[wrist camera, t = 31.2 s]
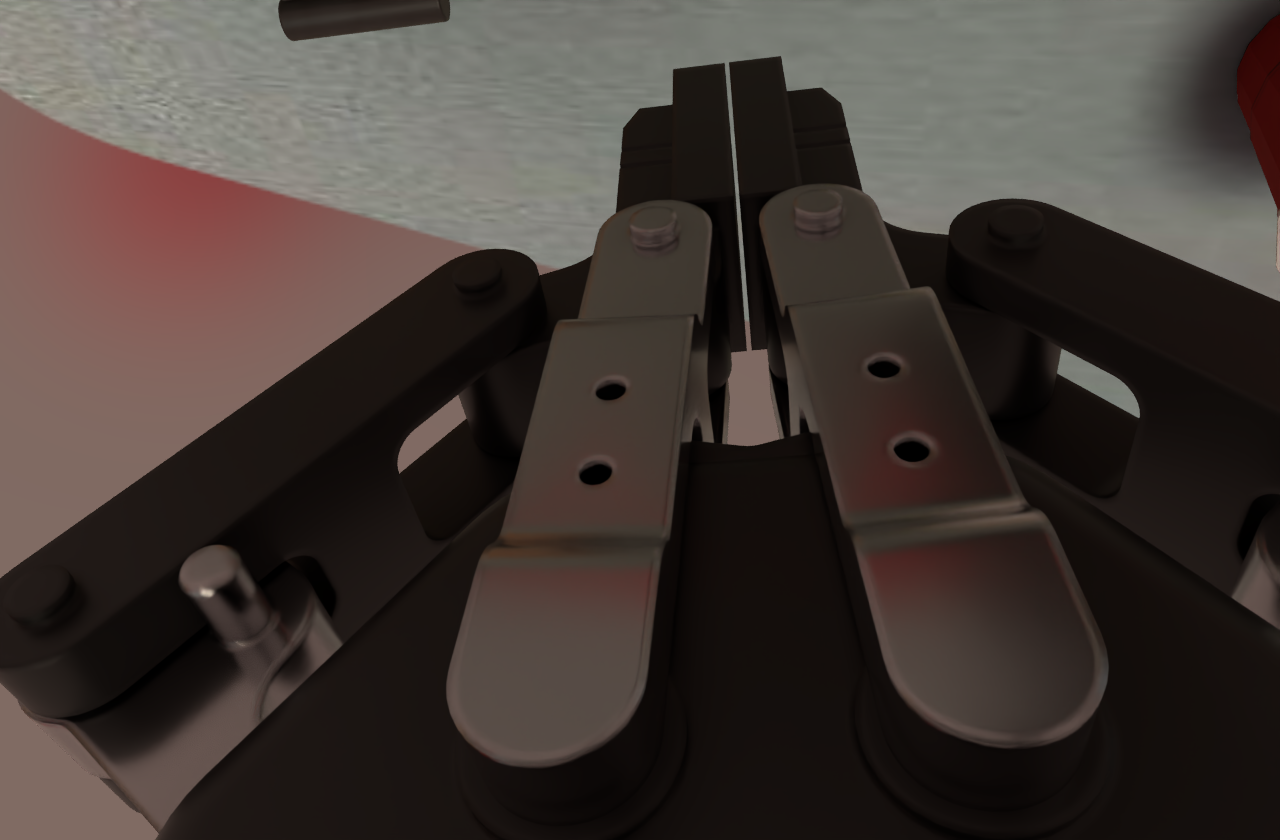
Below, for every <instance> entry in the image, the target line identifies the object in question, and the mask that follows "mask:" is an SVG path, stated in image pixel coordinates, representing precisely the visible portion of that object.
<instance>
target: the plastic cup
mask: <svg viewBox="0 0 1280 840" xmlns="http://www.w3.org/2000/svg"><path fill="white" fill-rule="evenodd" d="M1237 95H1238V104H1239V106H1240V109H1241V111H1242V113H1243V116H1244V118H1245V120H1246V122H1247V125H1248V127H1249V129H1250V139H1251V141H1252V144H1253V147H1254V149H1255V152H1256V154H1257V157H1258V160H1259V162H1260V165H1261V167H1262V170H1263V173H1264V175H1265V178H1266V180H1267V183H1268V186H1269V188H1270V191H1271V193H1272V196H1273V198H1274V201H1275V204H1276V206H1277V217H1278V223H1277V249H1276V268H1277V269H1278V271H1279V273H1280V14H1279V15H1278V16H1276V17H1275V18H1273V19H1272V20H1270V21H1269V22H1268V23H1267V25H1266V26H1265V27H1264V28H1263V29H1262V30H1261V31H1260V32H1259V33H1258V35H1257V36H1256V37H1255V38H1254V39H1253V40H1252V41H1251V42H1250V44H1249V45H1248V47H1247V49H1246V52H1245V54H1244V56H1243V58H1242V60H1241V63H1240V65H1239V67H1238V69H1237Z"/></svg>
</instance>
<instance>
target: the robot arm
mask: <svg viewBox="0 0 1280 840" xmlns="http://www.w3.org/2000/svg"><path fill="white" fill-rule="evenodd" d="M729 67H730V80H731V93H732V106H733V119H734V132H735V145H736V158H737V171H738V184H739V197H740V209H741V222H742V234H743V247H744V259H745V271H746V284H747V296H748V309H749V321H750V334H751V346H752V350H761V349H767V352H768V362H769V375H770V390H771V399H772V403H773V408H774V413H775V418H776V423H777V427H778V432H779V437H780V439H779V440H775V441H772V442H768V443H764V444H760V445H755V446H738V445H728V444H727V436H728V420H729V403H730V396H729V385H728V378H729V375H730V372H731V367H732V362H731V352H741V351H747V348H746V335H745V320H744V306H743V292H742V278H741V264H740V250H739V237H738V223H737V209H736V195H735V183H734V170H733V158H732V146H731V134H730V122H729V110H728V98H727V87H726V75H725V64H724V63H721V64H712V65H704V66H696V67H687V68H679V69H673V105H667V106H658V107H649V108H641V109H639V110H638V111H637V112H636V114H635V115H634V116H633V117H632V118H631V120H630V121H629V122H628V123H627V124H626V126H625V127H624V128H623V138H622V152H621V161H620V167H621V169H620V172H619V184H618V195H617V207H616V213H615V214H614V215H613V216H611V217H610V218H609V219H608V220H607V221H606V222H605V223H604V224H603V225H602V227H601V228H600V230H599V233H598V236H597V240H596V244H595V248H594V253H593V255H592V256H590V257H589V258H587V259H585V260H583V261H581V262H579V263H577V264H574V265H572V266H569V267H566V268H563V269H560V270H556V271H553V272H550V273H547V274H543V275H540V276H539V273H538V269H537V266H536V264H535V263H534V261H533V260H532V259H531V258H529V257H528V256H526V255H524V254H522V253H520V252H517V251H514V250H507V249H486V250H480V251H475V252H472V253H468V254H465V255H462V256H459V257H457V258H455V259H453V260H451V261H449V262H448V263H446V264H444V265H443V266H441V267H440V268H438V269H437V270H435V271H434V272H432V273H431V274H430V275H428V276H427V277H425V278H424V279H422V280H421V281H420V282H418V283H417V284H415V285H414V286H413V287H411V288H410V289H408V290H407V291H405V292H404V293H403V294H401V295H400V296H398V297H397V298H395V299H394V300H393V301H391V302H390V303H389V304H387V305H386V306H384V307H383V308H381V309H380V310H379V311H377V312H376V313H374V314H373V315H371V316H370V317H369V318H367V319H366V320H364V321H363V322H361V323H360V324H359V325H357V326H356V327H354V328H353V329H352V330H350V331H349V332H347V333H346V334H345V335H343V336H342V337H340V338H339V339H338V340H336V341H335V342H333V343H332V344H330V345H329V346H327V347H326V348H325V349H323V350H322V351H320V352H319V353H318V354H316V355H315V356H313V357H312V358H310V359H309V360H308V361H306V362H305V363H303V364H302V365H301V366H299V367H298V368H296V369H295V370H294V371H292V372H291V373H289V374H288V375H286V376H285V377H284V378H282V379H281V380H279V381H278V382H276V383H275V384H274V385H272V386H271V387H269V388H268V389H267V390H265V391H264V392H262V393H261V394H259V395H258V396H257V397H255V398H254V399H252V400H251V401H250V402H248V403H247V404H245V405H244V406H242V407H241V408H240V409H238V410H237V411H235V412H234V413H233V414H231V415H230V416H228V417H227V418H225V419H224V420H223V421H221V422H220V423H218V424H217V425H216V426H214V427H213V428H211V429H210V430H208V431H207V432H206V433H204V434H203V435H201V436H200V437H198V438H197V439H196V440H194V441H193V442H191V443H190V444H189V445H187V446H186V447H184V448H183V449H182V450H180V451H179V452H177V453H176V454H175V455H173V456H172V457H170V458H169V459H167V460H166V461H164V462H163V463H162V464H160V465H159V466H158V467H156V468H155V469H153V470H152V471H150V472H149V473H147V474H146V475H145V476H143V477H142V478H141V479H139V480H138V481H136V482H135V483H133V484H132V485H130V486H129V487H128V488H126V489H125V490H123V491H122V492H121V493H119V494H118V495H116V496H115V497H113V498H112V499H111V500H110V501H108V502H107V503H105V504H104V505H102V506H101V507H99V508H98V509H96V510H95V511H94V512H92V513H91V514H89V515H88V516H87V517H85V518H84V519H82V520H81V521H79V522H78V523H77V524H75V525H74V526H72V527H71V528H70V529H68V530H67V531H65V532H64V533H63V534H61V535H60V536H58V537H57V538H55V539H54V540H53V541H51V542H50V543H48V544H47V545H45V546H44V547H43V548H41V549H40V550H39V551H37V552H36V553H34V554H33V555H31V556H30V557H29V558H27V559H26V560H24V561H23V562H21V563H20V564H19V565H17V566H16V567H14V568H13V569H12V570H11V571H9V572H8V573H6V574H5V575H4V576H3V577H2V578H0V683H1V684H2V685H3V686H4V687H5V688H6V689H7V690H9V692H11V693H12V694H13V695H14V696H15V697H16V698H17V699H18V702H19V705H20V707H21V709H22V710H23V711H24V712H25V714H26V715H27V716H28V717H29V718H31V719H32V720H33V721H34V722H35V723H36V724H37V725H38V726H39V727H40V728H41V729H42V730H43V731H44V732H45V733H46V734H47V735H48V736H49V737H50V738H52V740H54V741H55V742H56V743H57V744H58V745H59V746H60V747H61V748H62V749H63V750H64V751H65V752H66V753H67V754H68V755H69V756H70V757H71V758H72V759H73V760H74V761H76V762H77V763H78V764H79V765H80V766H81V767H82V768H83V769H84V770H85V771H87V772H88V773H90V774H92V775H94V776H97V777H99V778H100V779H101V780H102V781H103V782H104V783H105V784H106V785H107V786H108V787H109V788H110V789H111V790H112V791H113V792H114V793H115V794H116V795H118V796H119V797H120V798H121V799H122V800H123V801H124V802H125V803H126V804H127V805H128V806H129V807H130V808H132V809H133V810H135V811H136V812H139V813H141V814H142V815H143V816H144V817H145V818H146V819H147V820H148V822H149V823H150V824H151V825H152V826H153V827H154V828H155V830H156V831H157V832H158V833H159V835H158V837H157V838H156V840H1280V302H1279V301H1277V300H1274V299H1272V298H1270V297H1267V296H1265V295H1262V294H1260V293H1258V292H1255V291H1253V290H1251V289H1248V288H1246V287H1244V286H1241V285H1239V284H1237V283H1234V282H1232V281H1229V280H1227V279H1225V278H1222V277H1220V276H1218V275H1215V274H1213V273H1211V272H1208V271H1206V270H1204V269H1201V268H1199V267H1196V266H1194V265H1192V264H1189V263H1187V262H1185V261H1182V260H1180V259H1178V258H1175V257H1173V256H1171V255H1168V254H1166V253H1163V252H1161V251H1159V250H1156V249H1154V248H1152V247H1149V246H1147V245H1145V244H1142V243H1140V242H1138V241H1135V240H1133V239H1130V238H1128V237H1126V236H1123V235H1121V234H1119V233H1116V232H1114V231H1112V230H1109V229H1107V228H1105V227H1102V226H1100V225H1097V224H1095V223H1093V222H1090V221H1088V220H1086V219H1083V218H1081V217H1079V216H1076V215H1074V214H1072V213H1069V212H1067V211H1065V210H1062V209H1060V208H1057V207H1055V206H1052V205H1049V204H1047V203H1043V202H1039V201H1034V200H1027V199H999V200H991V201H987V202H983V203H980V204H977V205H974V206H972V207H970V208H968V209H966V210H964V211H963V212H961V213H960V214H958V215H957V216H956V218H955V219H954V220H953V221H952V223H951V225H950V229H949V235H944V234H933V233H923V232H916V231H911V230H906V229H902V228H899V227H896V226H893V225H891V224H889V223H887V222H885V221H883V219H882V217H881V215H880V212H879V210H878V207H877V205H876V203H875V202H874V200H873V199H872V198H871V197H870V196H868V195H867V194H865V193H864V192H863V191H862V187H861V183H860V179H859V175H858V170H857V166H856V162H855V158H854V154H853V150H852V146H851V143H850V138H849V134H848V129H847V127H846V121H845V117H844V113H843V109H842V105H841V103H840V102H839V101H838V100H836V99H835V98H834V97H833V96H831V95H830V94H829V93H828V92H826V91H825V90H824V89H823V88H813V89H804V90H796V91H787V90H786V84H785V78H784V72H783V66H782V59H781V56H778V57H770V58H761V59H753V60H745V61H736V62H729ZM1061 349H1064V350H1066V351H1068V352H1070V353H1072V354H1074V355H1076V356H1077V357H1079V358H1081V359H1083V360H1085V361H1087V362H1089V363H1091V364H1093V365H1095V366H1096V367H1098V368H1100V369H1102V370H1104V371H1106V372H1108V373H1110V374H1112V375H1113V376H1115V377H1117V378H1118V379H1120V380H1121V381H1122V382H1123V383H1125V384H1126V385H1127V386H1128V387H1129V389H1130V390H1131V391H1132V393H1133V394H1134V396H1135V398H1136V400H1137V402H1138V405H1139V409H1140V418H1137V417H1135V416H1134V415H1132V414H1130V413H1128V412H1126V411H1124V410H1123V409H1121V408H1119V407H1117V406H1115V405H1114V404H1112V403H1110V402H1108V401H1106V400H1104V399H1103V398H1101V397H1099V396H1097V395H1095V394H1093V393H1092V392H1090V391H1088V390H1086V389H1084V388H1082V387H1081V386H1079V385H1077V384H1075V383H1073V382H1072V381H1070V380H1068V379H1066V378H1064V377H1062V376H1061V375H1059V374H1057V370H1058V364H1059V359H1060V354H1061ZM457 395H459V398H460V400H461V403H462V406H463V409H464V412H465V415H466V418H467V419H466V420H464V421H463V422H462V423H461V424H459V425H458V426H457V427H456V428H455V429H453V430H452V431H451V432H450V433H448V434H447V435H446V436H445V437H444V438H442V439H441V440H440V441H439V442H438V443H436V444H435V445H434V446H433V447H431V448H430V449H429V450H428V451H426V452H425V453H424V454H423V455H422V456H420V457H419V458H418V459H417V460H415V461H414V462H413V463H412V464H411V465H409V466H408V467H407V468H406V469H405V470H403V471H402V472H401V473H400V474H399V471H398V466H397V460H398V455H399V451H400V448H401V446H402V444H403V442H404V441H405V439H406V438H407V437H408V435H409V434H410V433H411V432H412V431H413V430H414V429H416V428H417V427H418V426H419V425H421V424H422V423H423V422H424V421H426V420H427V419H428V418H429V417H431V416H432V415H433V414H434V413H436V412H437V411H438V410H439V409H441V408H442V407H443V406H444V405H446V404H447V403H448V402H449V401H451V400H452V399H453V398H454V397H456V396H457Z"/></svg>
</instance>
